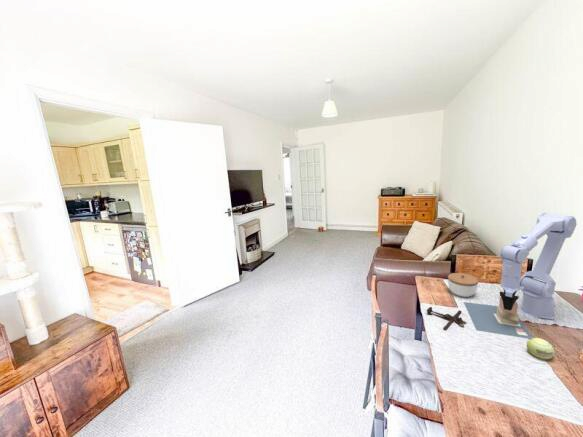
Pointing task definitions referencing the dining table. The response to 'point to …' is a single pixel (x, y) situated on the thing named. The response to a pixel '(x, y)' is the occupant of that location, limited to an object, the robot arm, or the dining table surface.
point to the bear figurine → (448, 318)
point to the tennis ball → (540, 348)
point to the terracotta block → (513, 311)
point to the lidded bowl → (462, 284)
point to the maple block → (507, 317)
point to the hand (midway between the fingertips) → (508, 305)
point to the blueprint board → (494, 321)
